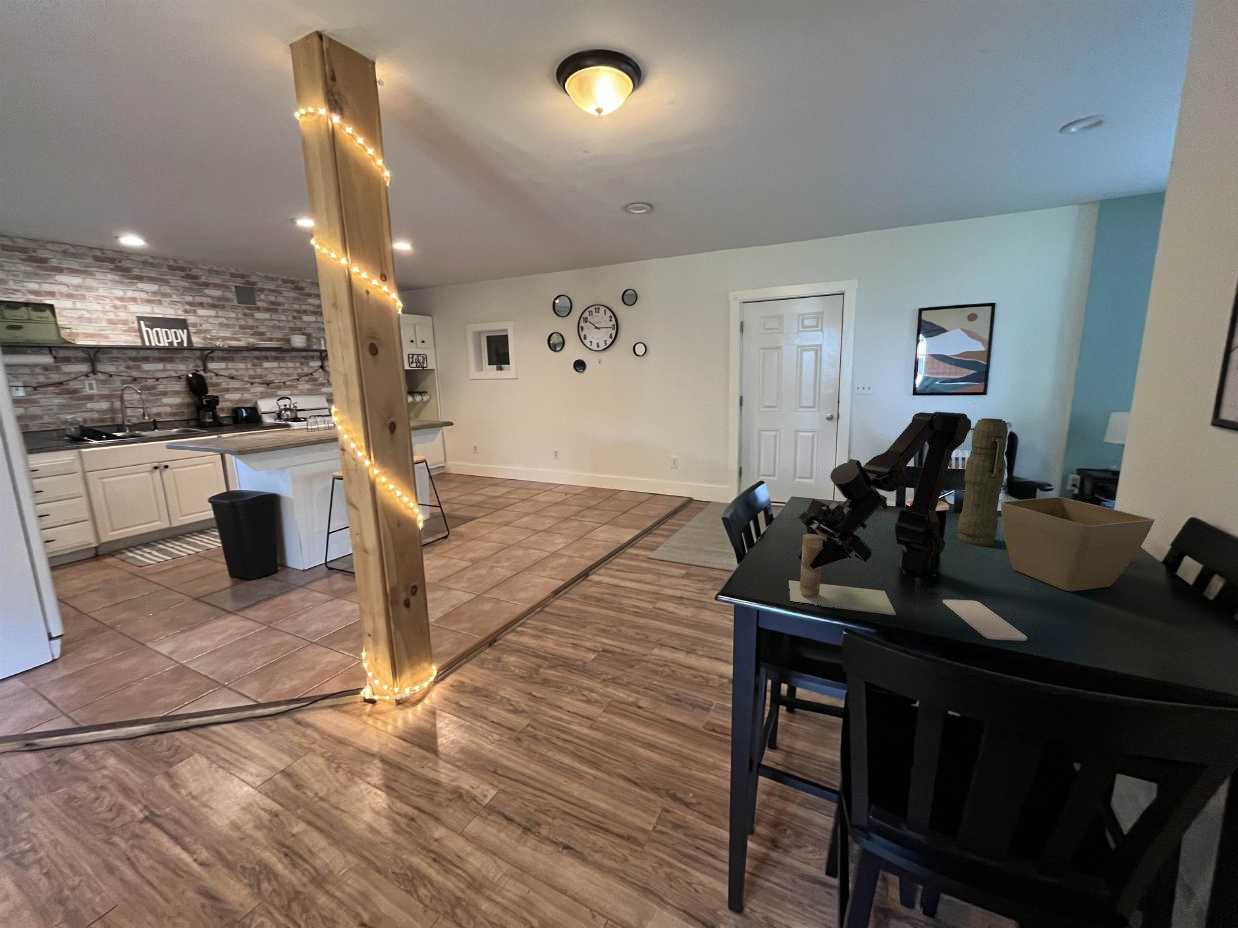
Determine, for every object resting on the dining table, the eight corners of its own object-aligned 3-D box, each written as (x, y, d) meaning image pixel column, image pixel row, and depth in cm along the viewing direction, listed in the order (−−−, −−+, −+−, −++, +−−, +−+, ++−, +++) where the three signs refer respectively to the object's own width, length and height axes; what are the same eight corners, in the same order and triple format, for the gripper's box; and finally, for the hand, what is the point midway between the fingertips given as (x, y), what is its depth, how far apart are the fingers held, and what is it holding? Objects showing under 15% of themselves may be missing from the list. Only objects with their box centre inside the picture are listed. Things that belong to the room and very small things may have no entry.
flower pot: (1142, 591, 105) (1157, 518, 102) (1075, 601, 101) (1089, 525, 98) (1048, 559, 123) (1059, 496, 120) (989, 566, 119) (998, 501, 116)
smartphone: (977, 600, 101) (1030, 638, 86) (976, 603, 101) (1029, 642, 87) (940, 599, 102) (986, 636, 87) (940, 602, 102) (986, 640, 87)
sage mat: (884, 592, 106) (884, 590, 106) (895, 615, 96) (895, 613, 96) (788, 581, 112) (788, 580, 112) (790, 602, 102) (790, 600, 102)
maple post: (818, 588, 106) (822, 534, 103) (820, 596, 102) (824, 541, 99) (799, 586, 107) (802, 533, 104) (800, 594, 103) (803, 539, 101)
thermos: (976, 533, 143) (992, 417, 136) (1006, 548, 131) (1025, 421, 124) (946, 533, 143) (960, 417, 136) (973, 548, 131) (991, 421, 125)
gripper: (808, 477, 110) (761, 526, 110) (863, 497, 91) (807, 556, 92) (836, 508, 112) (791, 556, 113) (895, 533, 94) (841, 591, 95)
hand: (805, 563), depth 103 cm, fingers closed on maple post, 4 cm apart
